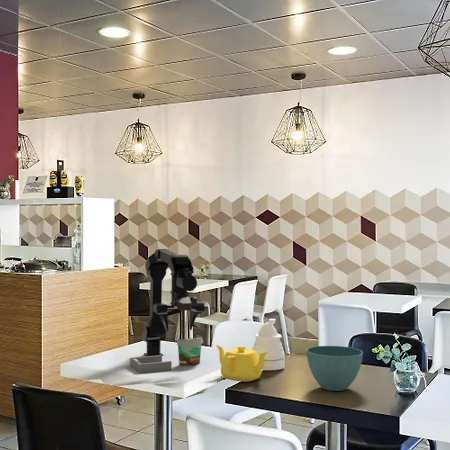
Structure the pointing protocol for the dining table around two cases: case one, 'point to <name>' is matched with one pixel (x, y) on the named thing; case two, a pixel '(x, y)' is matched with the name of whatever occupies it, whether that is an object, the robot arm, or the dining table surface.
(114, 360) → the dining table surface
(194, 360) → the food container
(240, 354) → the teapot
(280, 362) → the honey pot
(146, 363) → the pocket bay
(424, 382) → the dining table surface
